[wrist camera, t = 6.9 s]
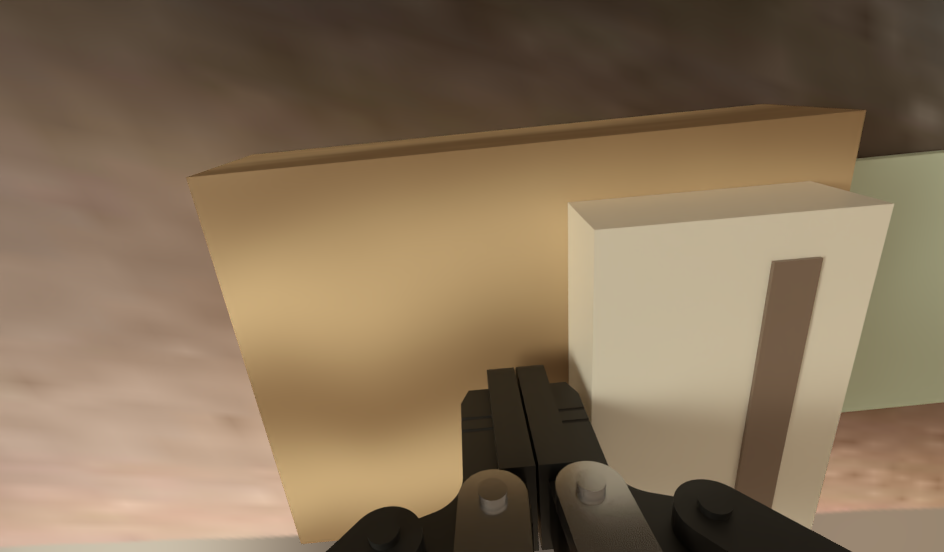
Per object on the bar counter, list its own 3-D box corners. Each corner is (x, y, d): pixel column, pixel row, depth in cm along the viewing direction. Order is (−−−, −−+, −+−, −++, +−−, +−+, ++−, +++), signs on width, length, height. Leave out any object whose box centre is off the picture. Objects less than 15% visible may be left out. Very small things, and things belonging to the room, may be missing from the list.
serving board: (252, 154, 15) (186, 177, 11) (763, 103, 15) (866, 110, 11) (330, 456, 19) (301, 544, 16) (723, 417, 19) (787, 495, 16)
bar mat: (785, 165, 16) (793, 167, 15) (1150, 129, 16) (1166, 130, 15) (747, 414, 19) (753, 421, 19) (1042, 385, 19) (1053, 391, 19)
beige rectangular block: (567, 202, 12) (596, 231, 9) (810, 181, 12) (898, 204, 9) (569, 482, 15) (590, 554, 13) (758, 465, 15) (813, 534, 13)
